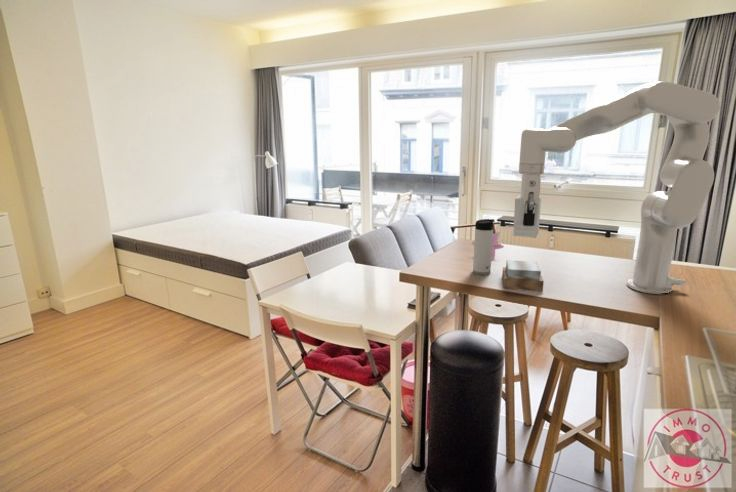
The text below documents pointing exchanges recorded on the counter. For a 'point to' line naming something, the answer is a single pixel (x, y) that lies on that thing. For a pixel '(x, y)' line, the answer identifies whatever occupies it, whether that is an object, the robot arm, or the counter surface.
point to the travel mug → (483, 246)
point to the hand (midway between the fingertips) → (526, 222)
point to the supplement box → (519, 216)
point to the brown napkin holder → (522, 276)
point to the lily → (494, 244)
